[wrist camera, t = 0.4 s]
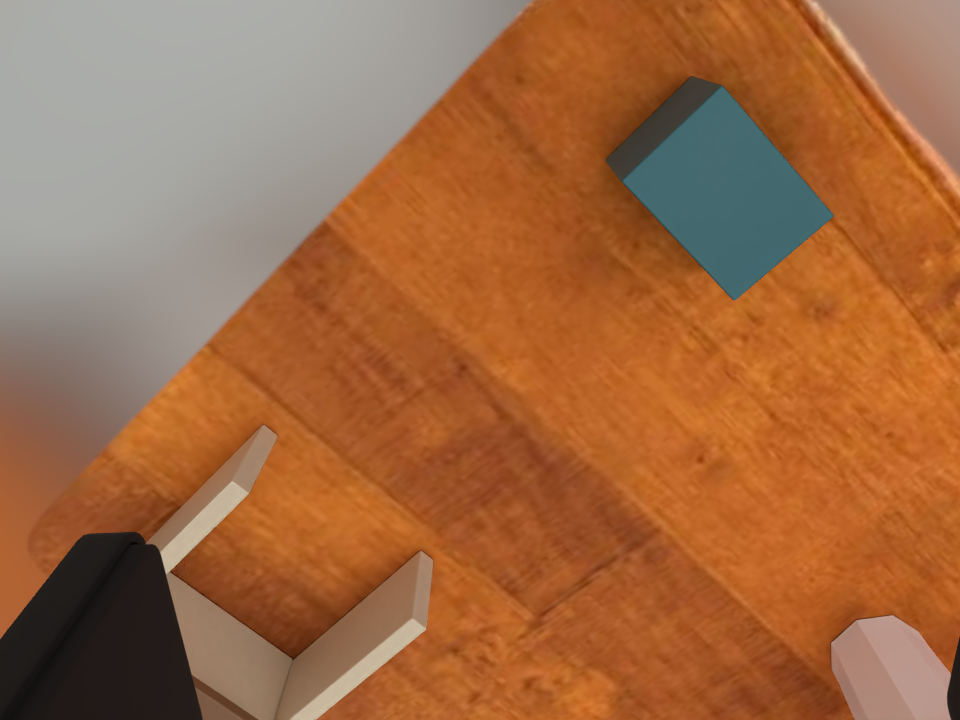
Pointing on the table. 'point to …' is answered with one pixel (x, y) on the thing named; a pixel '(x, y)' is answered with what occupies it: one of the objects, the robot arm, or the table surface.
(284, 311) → the table surface
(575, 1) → the table surface
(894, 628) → the cup
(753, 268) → the box
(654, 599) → the table surface
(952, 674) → the robot arm
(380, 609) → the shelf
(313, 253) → the table surface
